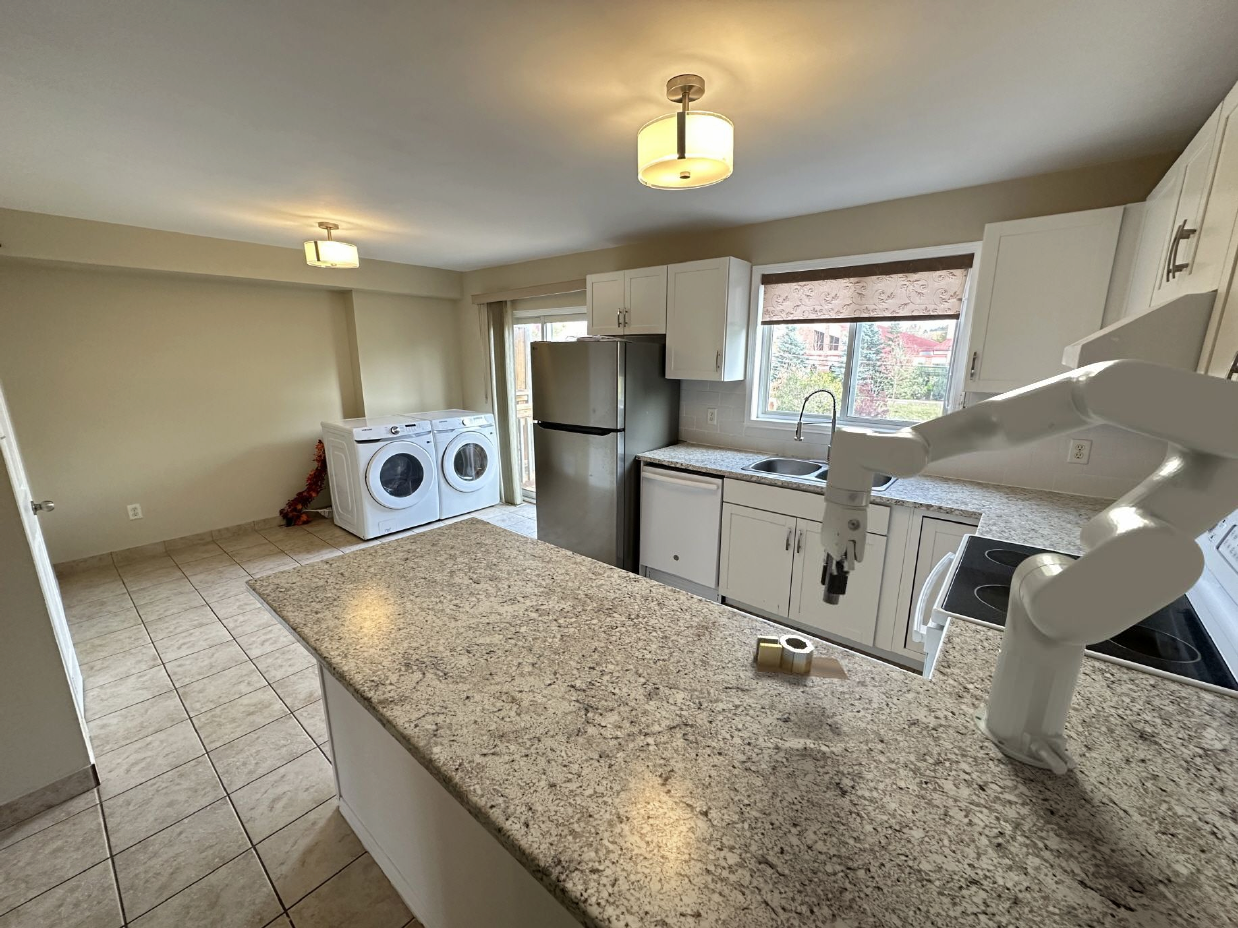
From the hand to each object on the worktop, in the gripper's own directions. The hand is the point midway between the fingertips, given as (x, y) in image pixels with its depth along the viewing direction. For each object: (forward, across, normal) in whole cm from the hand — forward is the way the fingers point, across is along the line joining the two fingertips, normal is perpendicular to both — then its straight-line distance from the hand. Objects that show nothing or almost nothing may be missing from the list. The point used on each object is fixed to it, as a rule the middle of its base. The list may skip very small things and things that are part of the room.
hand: (832, 588), depth 91 cm
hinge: (+16, 0, +7) cm, 18 cm away
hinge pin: (+3, 0, 0) cm, 3 cm away
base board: (+17, 0, +4) cm, 18 cm away
